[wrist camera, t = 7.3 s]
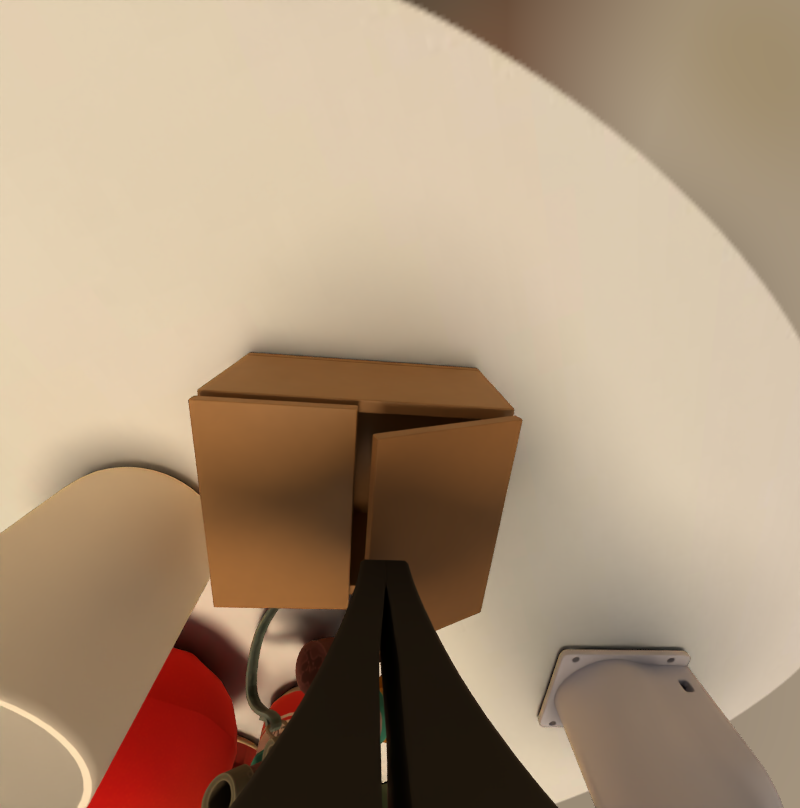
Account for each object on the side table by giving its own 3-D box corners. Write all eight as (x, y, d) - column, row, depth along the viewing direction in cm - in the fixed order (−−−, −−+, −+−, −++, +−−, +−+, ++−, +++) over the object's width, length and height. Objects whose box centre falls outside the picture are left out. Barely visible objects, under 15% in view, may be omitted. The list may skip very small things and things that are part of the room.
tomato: (56, 588, 22) (-188, 838, 13) (272, 626, 24) (202, 866, 15) (56, 708, 26) (-134, 971, 16) (243, 732, 28) (172, 979, 18)
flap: (515, 414, 13) (523, 419, 13) (475, 604, 16) (480, 612, 16) (372, 433, 11) (377, 439, 10) (358, 651, 14) (362, 661, 13)
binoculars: (291, 623, 27) (334, 809, 21) (161, 636, 20) (166, 921, 14) (385, 549, 25) (463, 730, 19) (277, 535, 18) (343, 815, 12)
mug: (-15, 541, 21) (-385, 806, 11) (144, 430, 19) (-124, 625, 9) (109, 631, 23) (-91, 906, 13) (258, 542, 22) (154, 785, 12)
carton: (477, 367, 18) (523, 417, 13) (453, 517, 22) (480, 612, 16) (249, 352, 18) (184, 397, 12) (259, 510, 21) (211, 608, 15)
